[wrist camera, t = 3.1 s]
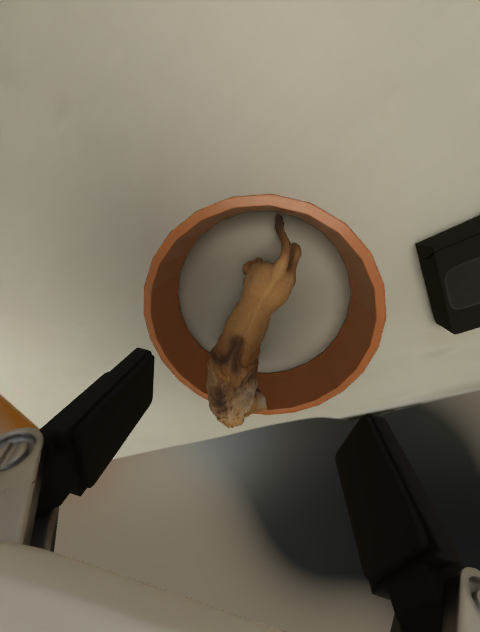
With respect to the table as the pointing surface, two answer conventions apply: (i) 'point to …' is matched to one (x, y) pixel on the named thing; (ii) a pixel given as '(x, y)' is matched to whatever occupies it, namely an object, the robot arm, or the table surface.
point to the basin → (280, 387)
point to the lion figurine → (249, 335)
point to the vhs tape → (453, 275)
